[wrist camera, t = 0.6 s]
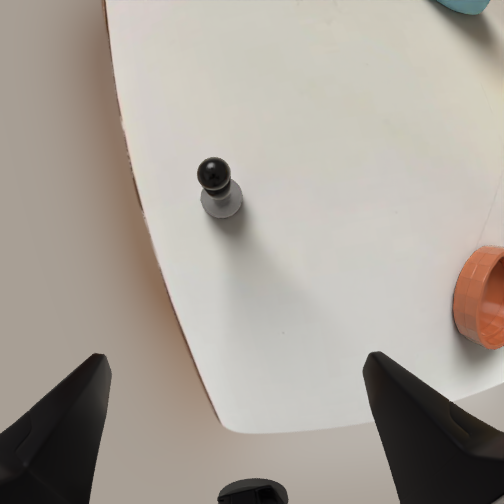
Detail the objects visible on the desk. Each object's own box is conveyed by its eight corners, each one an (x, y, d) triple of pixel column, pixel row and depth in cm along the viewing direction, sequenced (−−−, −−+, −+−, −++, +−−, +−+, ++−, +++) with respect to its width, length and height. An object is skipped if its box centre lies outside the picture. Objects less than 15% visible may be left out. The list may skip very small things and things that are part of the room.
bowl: (508, 311, 28) (531, 319, 24) (454, 353, 28) (477, 367, 23) (500, 232, 27) (526, 233, 22) (443, 267, 27) (471, 273, 22)
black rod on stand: (247, 210, 25) (265, 193, 12) (210, 224, 25) (188, 223, 12) (233, 174, 24) (236, 122, 12) (197, 188, 24) (162, 150, 11)
